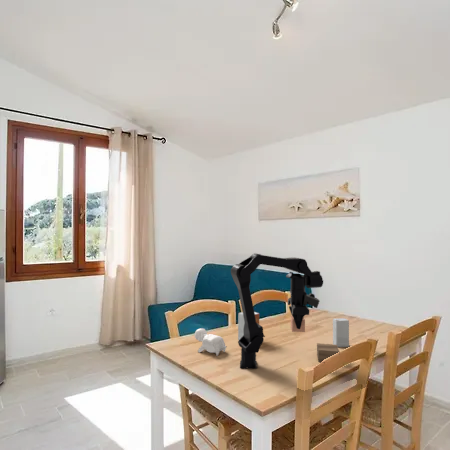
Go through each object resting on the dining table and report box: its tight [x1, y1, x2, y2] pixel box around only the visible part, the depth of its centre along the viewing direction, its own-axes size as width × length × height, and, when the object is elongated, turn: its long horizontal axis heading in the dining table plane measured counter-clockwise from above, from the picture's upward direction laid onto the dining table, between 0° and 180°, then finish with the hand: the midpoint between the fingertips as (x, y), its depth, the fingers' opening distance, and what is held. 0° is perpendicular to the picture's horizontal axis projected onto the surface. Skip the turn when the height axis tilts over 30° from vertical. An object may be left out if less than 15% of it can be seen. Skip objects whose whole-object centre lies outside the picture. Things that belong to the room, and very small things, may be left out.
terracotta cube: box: [290, 315, 306, 333], centre depth 138 cm, size 5×5×5 cm
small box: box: [237, 311, 260, 341], centre depth 160 cm, size 8×6×13 cm
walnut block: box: [316, 342, 340, 363], centre depth 138 cm, size 8×8×5 cm
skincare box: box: [332, 317, 350, 348], centre depth 154 cm, size 6×4×12 cm
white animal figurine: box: [194, 327, 228, 357], centre depth 147 cm, size 9×8×15 cm
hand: (297, 326), depth 138 cm, fingers closed on terracotta cube, 5 cm apart
